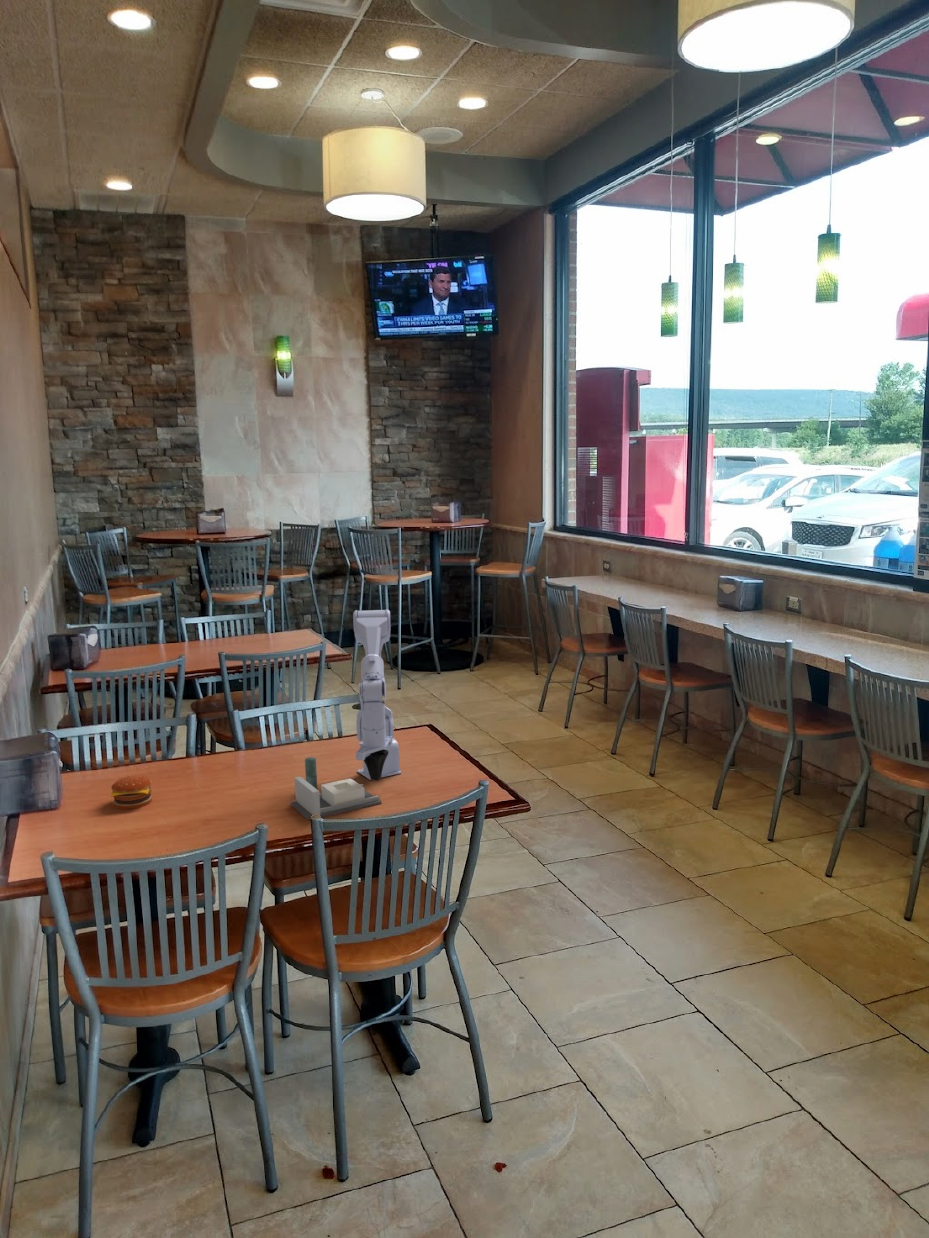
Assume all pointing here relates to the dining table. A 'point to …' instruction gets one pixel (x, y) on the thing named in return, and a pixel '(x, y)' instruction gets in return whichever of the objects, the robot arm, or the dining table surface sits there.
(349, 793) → the sliding block
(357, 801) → the base
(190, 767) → the dining table surface
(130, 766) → the dining table surface
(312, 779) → the dowel
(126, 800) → the hamburger
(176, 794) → the dining table surface
